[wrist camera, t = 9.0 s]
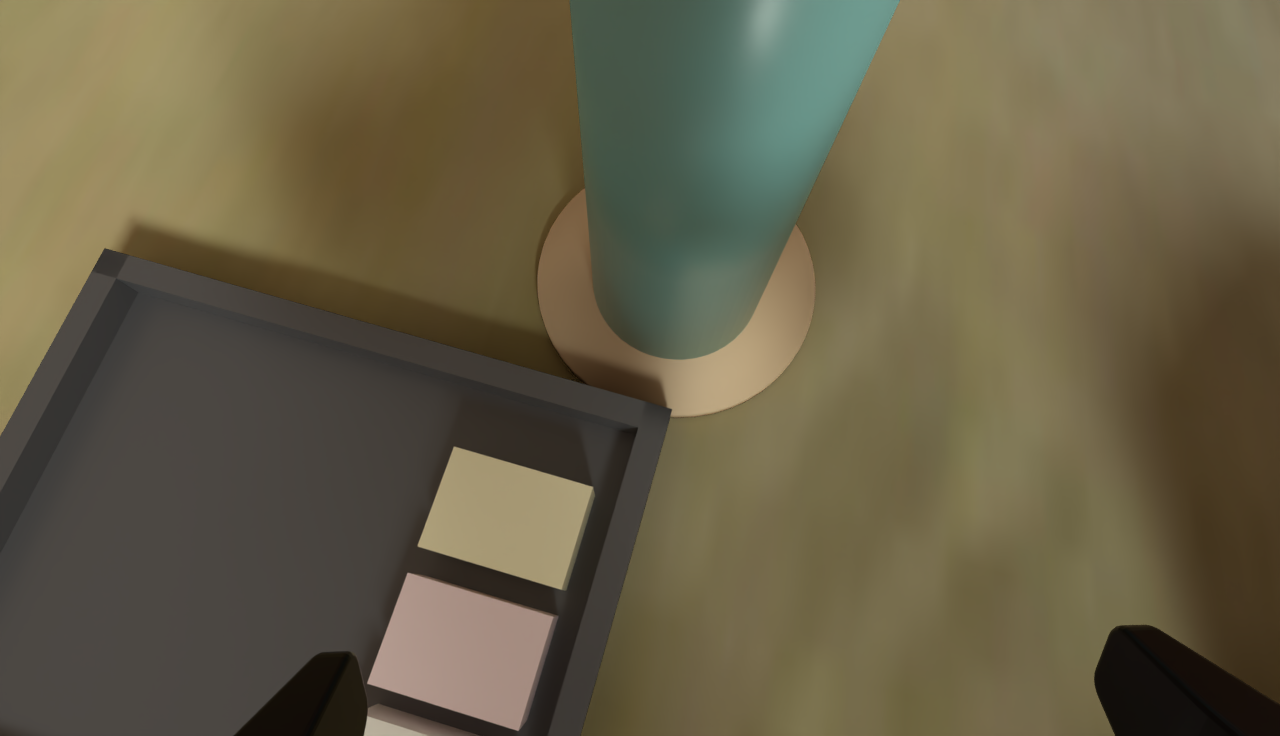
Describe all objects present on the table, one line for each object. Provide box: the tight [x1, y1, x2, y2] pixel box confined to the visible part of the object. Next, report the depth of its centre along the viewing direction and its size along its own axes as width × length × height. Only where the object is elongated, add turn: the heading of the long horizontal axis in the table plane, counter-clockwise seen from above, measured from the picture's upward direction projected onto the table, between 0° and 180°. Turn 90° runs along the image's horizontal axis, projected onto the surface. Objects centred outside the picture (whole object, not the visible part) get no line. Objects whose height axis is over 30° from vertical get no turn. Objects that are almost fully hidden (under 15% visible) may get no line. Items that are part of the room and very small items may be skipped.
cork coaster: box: [537, 188, 815, 418], centre depth 25 cm, size 9×9×1 cm
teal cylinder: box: [570, 0, 900, 360], centre depth 17 cm, size 5×5×15 cm
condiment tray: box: [0, 249, 672, 736], centre depth 21 cm, size 18×15×2 cm
